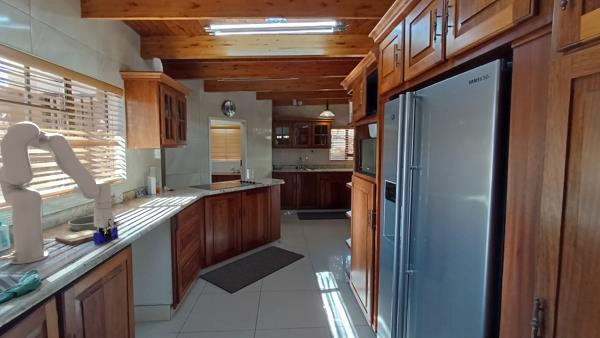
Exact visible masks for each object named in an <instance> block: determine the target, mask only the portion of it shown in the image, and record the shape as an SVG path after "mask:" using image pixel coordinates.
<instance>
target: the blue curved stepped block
mask: <svg viewBox="0 0 600 338" xmlns="http://www.w3.org/2000/svg"><path fill="white" fill-rule="evenodd" d="M118 228H119V227H118V226H114V228H113V230H112V240H109V241H105V236H104V237H103V236H102V235H101V232H94V240H93V244H94V245H97V246H98V245H99V246H100V245H102V244H104V243H107V242H110V241H113V240H116V239H118V238H119V231H118Z"/></svg>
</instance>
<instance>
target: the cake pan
mask: <svg viewBox="0 0 600 338" xmlns="http://www.w3.org/2000/svg"><path fill="white" fill-rule="evenodd" d="M116 218H117V217H116V215H113V223H114V221H115V219H116ZM67 223H68V225H70V227H71V228H70V229H71V230H72V231H76V232H80V231H84V230H92V231H96V230H97V228H96V227H95V226H94V214H93V215H87V216H83V217H82V216H81V217H77V218H73V219H71V220H69V221H68V222H67ZM107 227H109V226H107Z"/></svg>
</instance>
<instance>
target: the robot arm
mask: <svg viewBox="0 0 600 338" xmlns="http://www.w3.org/2000/svg"><path fill="white" fill-rule="evenodd" d="M6 131H7V132H6V133H5V134H4V135H3V136H2V139H1V142H0V156H1V160H2V161H1V162H2V166H1V167H0V188H1V191H2V192H1V193H2V195H3V200H4V201H5V203H6V204H7V205H8V206H9V207H12V211H11V212H12V213H11V220H12V222H11V223H12V232H13V233H12V234H13V244H14V246H13V247H14V250H12V251H11V253H9V254H7V255H3V256H0V262H5V261H7V262H9V261H10V263H11V264H13V265H23V264H24V265H25V264H31V263H35V262H39V261H42V260H44V259H47V258H48V257H49V256H50V253H49V252H48V251H45V243H44V232H43V231H44V229H43V218H42V215H43V214H42V209H43V208H42V207H43V198H42V195H41V193H40V192H39V191H38V190H36V189H35V188H31V184H30V183H31V182H32V181H33V179H34V170H33V167H32V164H31V159H30V156H29V155H30V154H29V147H32V148H34V149H38V150H42V151H45V152H49V154H50V156H51V157H52V159H53V161H54V162H55V164H56V165H57V167H58V168H59V170H60V171H61V172H62V173H64V174H65V175H67V176H68V177H69V178H70V179H71V180H72V181H74V183H75V184H76V185H75V186H74V187H73V189H72V193H73V195H74V196H76V197H77V198H80V199H81V198H82V199H86V200H93V204H94V207H93V208H94V209H93V215H94V226H95V227H96V228H97V229H96V231H97V232H101V235H102V236H103V237H104V236H105V241H108V242H110V241H113V240H112V230H113V228H114V227H115V225H114V222H113V216H114V215H113V210H112V206H113V205H112V192H111V191H112V190H111V183H110V182H109V181H96V179H95V178H94V176H93V175H92V173H91V172H90V171H89V170H88V169H87V168H86V167H85V165H84V164H83V163H82V162H81V161H80V159H79V157H78V155H77V154H76V152H75V151H74V149H73V147H72V146H71V143H70V142H69V140H68V139H67V137H66V136H65V135H63V134H61V133H50V132H46V131H43V130H41V129H40V127H39V126H38V125H37V124H36V123H33V122H31V121H21V122H16V123H13V124H10V126H8V128H7V130H6ZM107 226H108V227H107ZM109 240H110V241H109Z"/></svg>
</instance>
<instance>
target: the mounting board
mask: <svg viewBox="0 0 600 338" xmlns="http://www.w3.org/2000/svg"><path fill="white" fill-rule="evenodd" d="M94 232H97V230H84V231H76V232H72V233H68V234H63V235H59V236H55V238H54V239H55V240H54V241H55V242H57V241H58V243H62V244H66V245H69V246H76V245H79V244H83V243H86V242H91V241H94Z"/></svg>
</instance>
